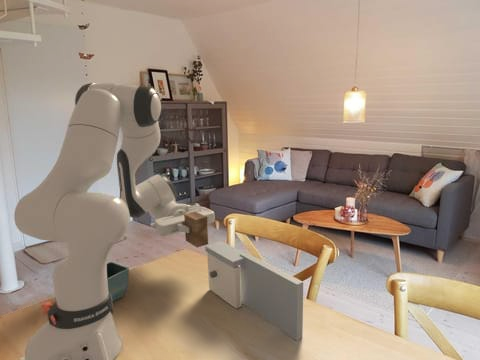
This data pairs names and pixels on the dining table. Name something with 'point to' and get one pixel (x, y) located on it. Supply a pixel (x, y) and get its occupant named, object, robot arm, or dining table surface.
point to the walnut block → (196, 229)
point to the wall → (266, 289)
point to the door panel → (224, 280)
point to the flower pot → (117, 279)
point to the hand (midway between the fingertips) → (197, 228)
